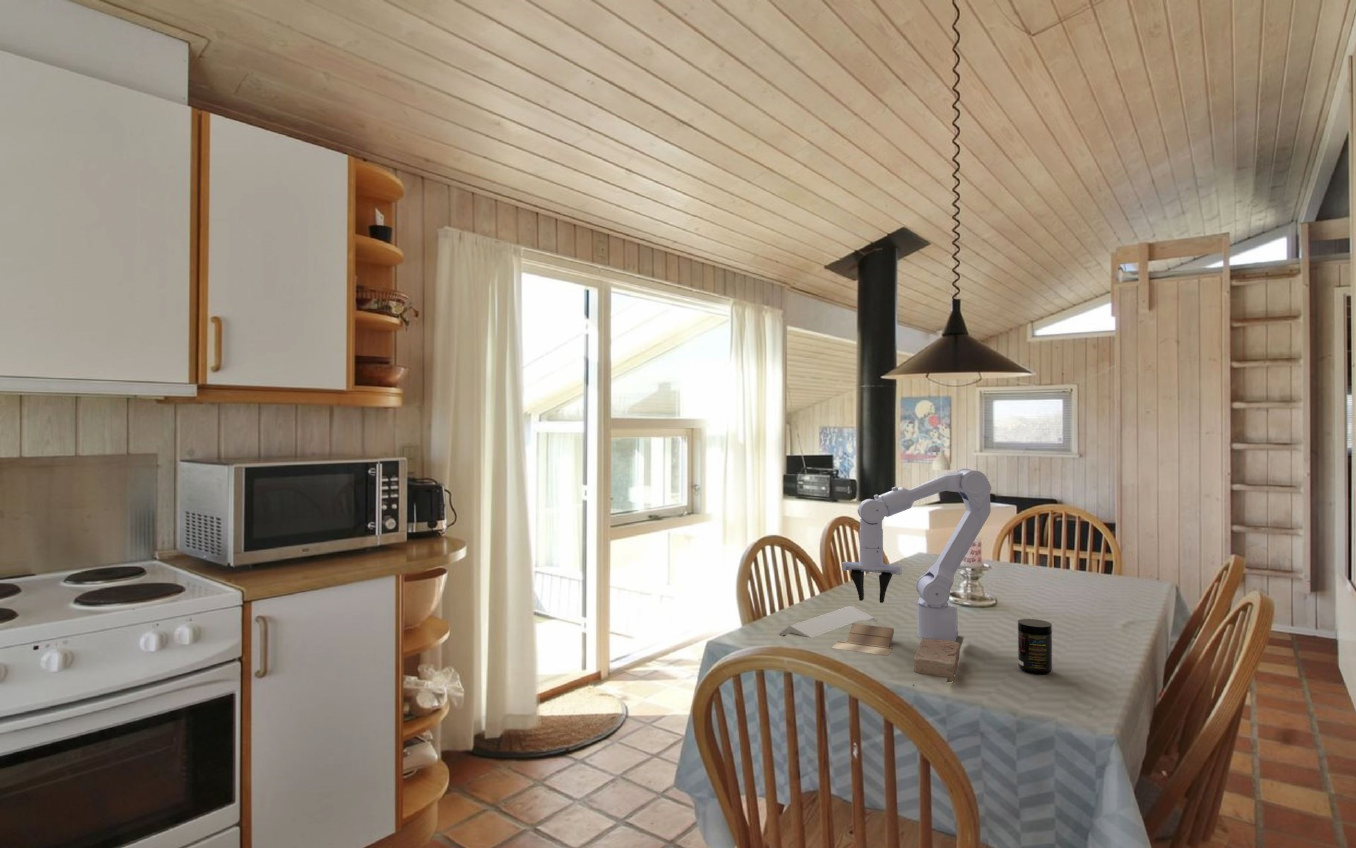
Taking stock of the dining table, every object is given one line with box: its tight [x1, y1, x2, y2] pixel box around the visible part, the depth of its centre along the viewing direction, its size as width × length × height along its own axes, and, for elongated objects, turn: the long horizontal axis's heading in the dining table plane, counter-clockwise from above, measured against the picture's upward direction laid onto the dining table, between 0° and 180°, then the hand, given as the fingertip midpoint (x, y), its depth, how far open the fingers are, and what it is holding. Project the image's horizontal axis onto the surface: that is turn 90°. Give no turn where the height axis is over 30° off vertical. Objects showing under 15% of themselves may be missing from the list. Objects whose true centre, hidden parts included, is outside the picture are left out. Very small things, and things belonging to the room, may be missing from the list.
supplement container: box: [1017, 618, 1053, 676], centre depth 157 cm, size 7×7×10 cm
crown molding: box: [778, 605, 877, 639], centre depth 192 cm, size 29×12×4 cm, turn 136°
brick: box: [913, 638, 961, 683], centre depth 159 cm, size 17×8×5 cm, turn 155°
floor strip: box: [831, 640, 894, 656], centre depth 170 cm, size 13×6×1 cm, turn 63°
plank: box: [846, 623, 895, 647], centre depth 176 cm, size 10×7×1 cm
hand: (871, 601), depth 182 cm, fingers open, 4 cm apart
